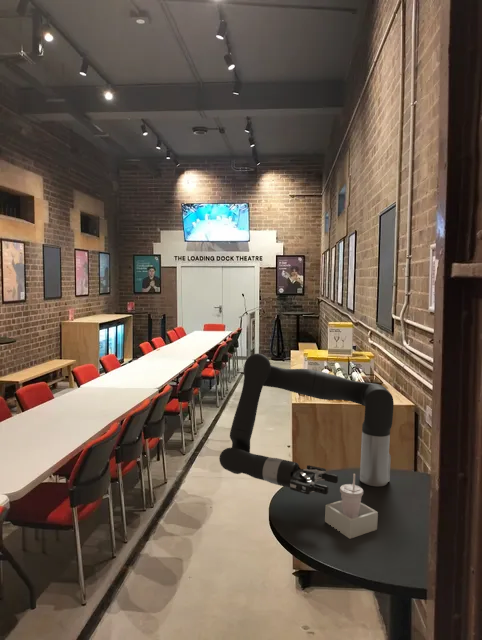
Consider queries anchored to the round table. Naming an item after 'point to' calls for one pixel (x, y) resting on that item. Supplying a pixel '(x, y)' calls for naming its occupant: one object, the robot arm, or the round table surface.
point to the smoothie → (351, 499)
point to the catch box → (351, 520)
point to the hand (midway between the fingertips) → (332, 484)
